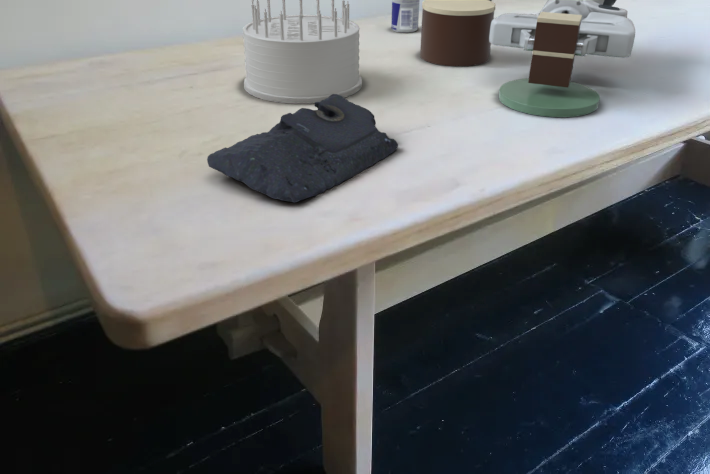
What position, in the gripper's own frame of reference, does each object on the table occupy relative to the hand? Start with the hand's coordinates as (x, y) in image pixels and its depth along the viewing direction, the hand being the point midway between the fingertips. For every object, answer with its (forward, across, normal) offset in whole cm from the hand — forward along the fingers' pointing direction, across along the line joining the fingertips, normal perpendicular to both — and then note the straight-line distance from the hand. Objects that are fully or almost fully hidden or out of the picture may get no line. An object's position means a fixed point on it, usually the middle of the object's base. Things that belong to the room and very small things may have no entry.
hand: (554, 47), depth 91 cm
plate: (-1, 0, +8) cm, 8 cm away
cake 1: (+5, -36, +8) cm, 37 cm away
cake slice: (-1, 0, +5) cm, 5 cm away
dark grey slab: (+31, -24, +8) cm, 40 cm away
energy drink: (-35, -32, +8) cm, 48 cm away
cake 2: (-19, -18, +8) cm, 27 cm away
